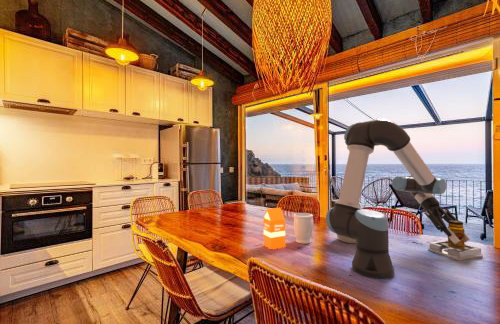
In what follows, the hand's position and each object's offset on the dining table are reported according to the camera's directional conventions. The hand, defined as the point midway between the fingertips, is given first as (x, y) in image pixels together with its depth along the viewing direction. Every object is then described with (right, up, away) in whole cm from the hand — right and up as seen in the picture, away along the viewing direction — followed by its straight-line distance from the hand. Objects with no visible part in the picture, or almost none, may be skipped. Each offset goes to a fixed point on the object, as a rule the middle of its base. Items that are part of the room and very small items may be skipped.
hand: (462, 241), depth 113 cm
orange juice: (-84, -8, +17) cm, 86 cm away
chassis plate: (-1, -6, +3) cm, 7 cm away
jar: (-67, -8, +24) cm, 72 cm away
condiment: (-1, -4, +3) cm, 5 cm away
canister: (-41, -8, +24) cm, 49 cm away
